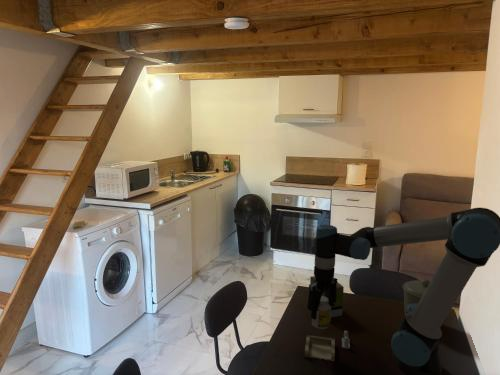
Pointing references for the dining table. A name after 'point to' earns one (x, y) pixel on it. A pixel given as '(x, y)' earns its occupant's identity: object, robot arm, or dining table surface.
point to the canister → (414, 291)
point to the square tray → (320, 348)
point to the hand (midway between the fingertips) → (321, 323)
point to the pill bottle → (323, 313)
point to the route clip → (346, 341)
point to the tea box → (339, 299)
